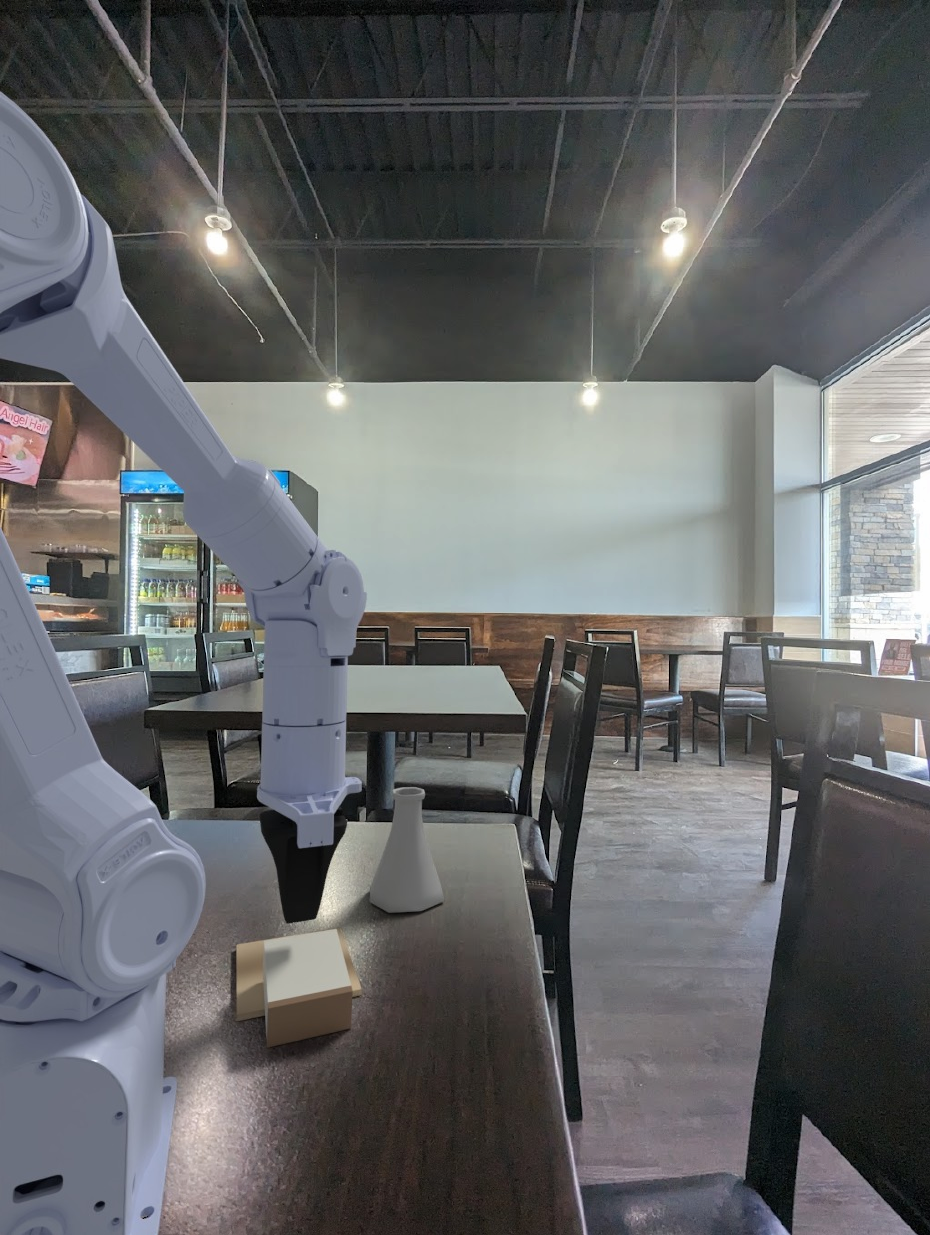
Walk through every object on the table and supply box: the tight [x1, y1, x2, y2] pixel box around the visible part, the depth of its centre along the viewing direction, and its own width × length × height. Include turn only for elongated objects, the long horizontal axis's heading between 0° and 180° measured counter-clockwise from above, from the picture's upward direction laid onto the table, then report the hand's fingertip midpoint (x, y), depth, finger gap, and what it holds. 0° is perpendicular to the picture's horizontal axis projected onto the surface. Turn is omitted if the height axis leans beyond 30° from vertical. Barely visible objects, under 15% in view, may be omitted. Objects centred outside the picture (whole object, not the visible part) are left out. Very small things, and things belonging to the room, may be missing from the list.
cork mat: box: [235, 927, 363, 1022], centre depth 43 cm, size 9×8×1 cm
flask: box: [369, 786, 445, 914], centre depth 55 cm, size 7×7×10 cm
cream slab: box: [263, 928, 353, 1048], centre depth 39 cm, size 2×5×6 cm
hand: (300, 917), depth 41 cm, fingers closed
